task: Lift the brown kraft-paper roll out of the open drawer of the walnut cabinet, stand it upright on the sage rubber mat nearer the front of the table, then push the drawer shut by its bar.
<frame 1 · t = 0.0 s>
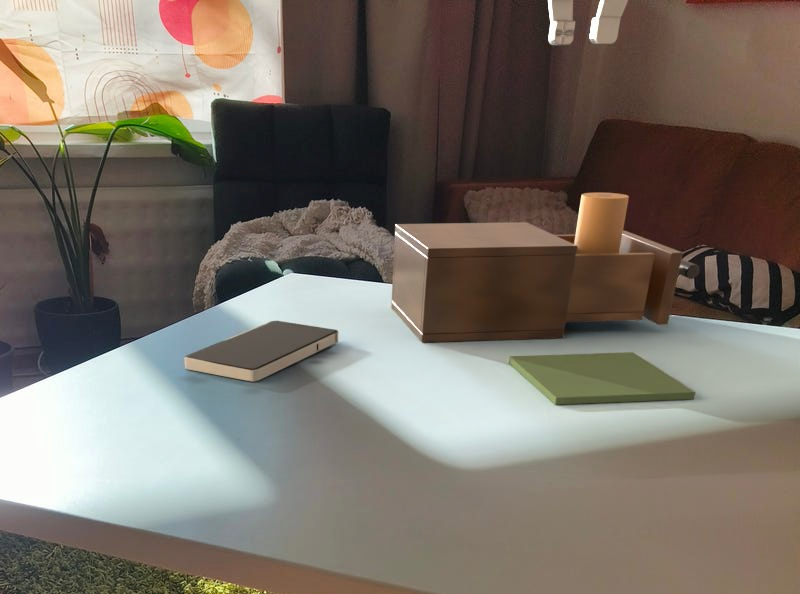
hand: (580, 44, 76), 24 cm above the table, tool pointing down, fingers open, 8 cm apart
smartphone: (265, 357, 84), on the table
mat: (596, 379, 78), on the table
paper roll: (588, 299, 95), point 2 cm above the table, touching drawer
drawer: (604, 276, 94), point 4 cm above the table, slide at 10.0 cm, touching paper roll
cabinet: (472, 322, 94), on the table
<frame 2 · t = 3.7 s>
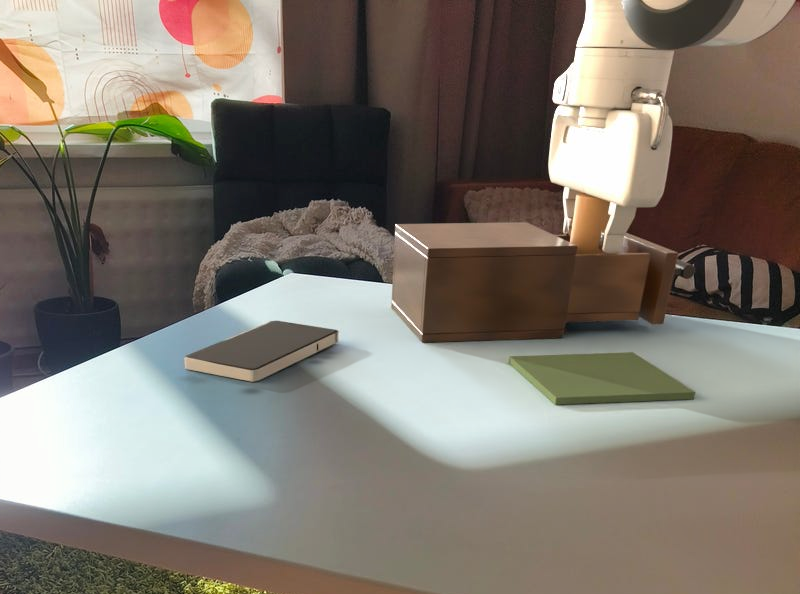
hand: (589, 244, 92), 8 cm above the table, tool pointing down
drawer: (600, 276, 94), point 4 cm above the table, slide at 9.5 cm, touching gripper, paper roll
everything else where it was.
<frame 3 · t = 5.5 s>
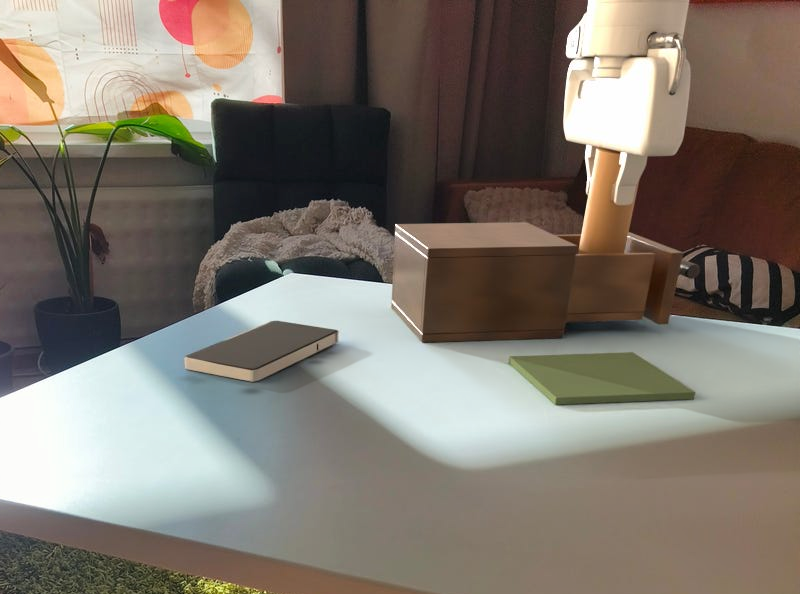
hand: (608, 200, 90), 12 cm above the table, tool pointing down, fingers closed on paper roll, 5 cm apart
paper roll: (600, 257, 93), point 6 cm above the table, tilted 5°, touching gripper
drawer: (604, 276, 94), point 4 cm above the table, slide at 10.0 cm
everything else where it was.
when the fingers open (6 cm above the table, at t = 12.7 s): paper roll stays where it is, resting on mat.
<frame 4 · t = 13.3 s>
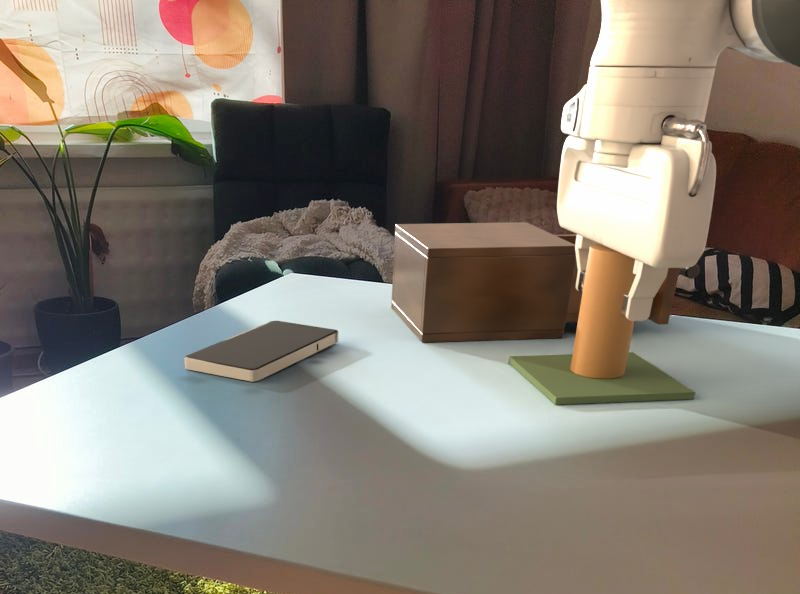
hand: (609, 305, 74), 6 cm above the table, tool pointing down, fingers open, 8 cm apart
paper roll: (597, 371, 78), point 1 cm above the table, touching mat
everything else where it was.
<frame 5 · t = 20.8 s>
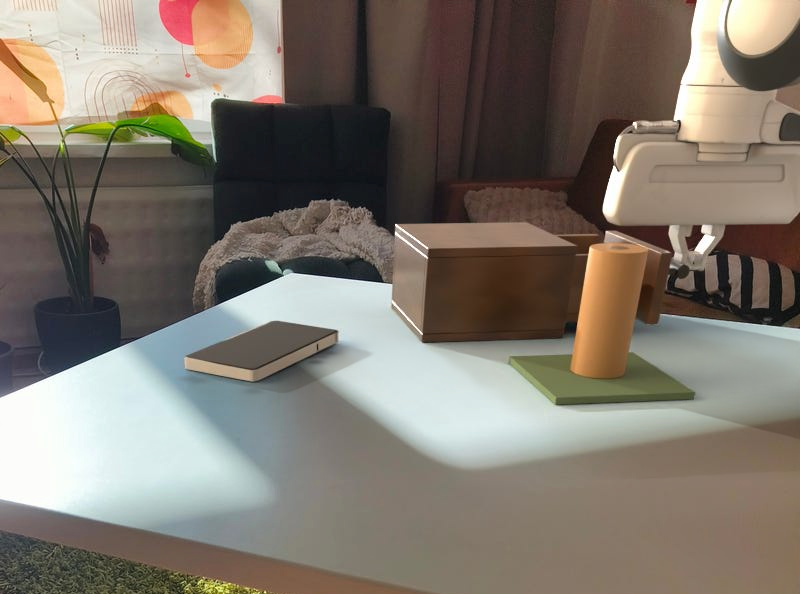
hand: (687, 270, 95), 5 cm above the table, tool pointing down, fingers closed
drawer: (594, 276, 94), point 4 cm above the table, slide at 8.9 cm, touching gripper
everything else where it was.
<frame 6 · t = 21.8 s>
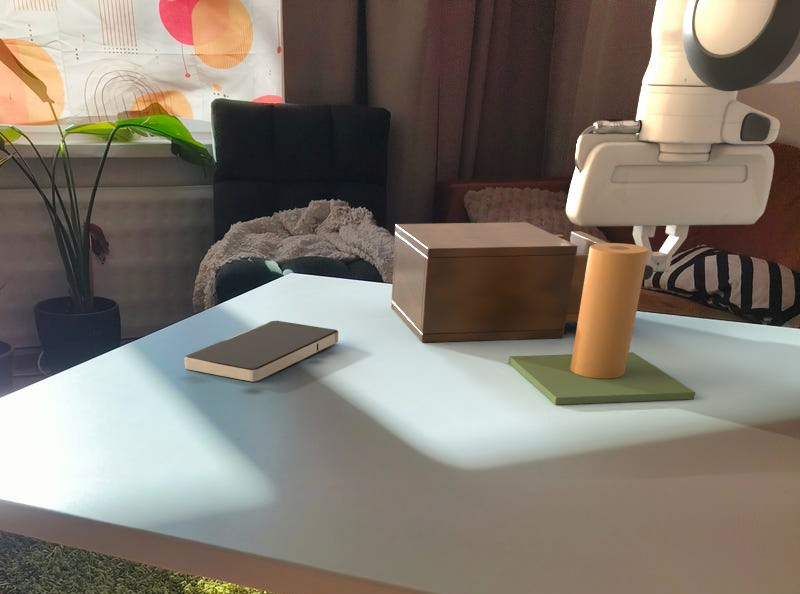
hand: (652, 271, 94), 5 cm above the table, tool pointing down, fingers closed
drawer: (558, 277, 93), point 4 cm above the table, slide at 4.9 cm, touching gripper
everything else where it was.
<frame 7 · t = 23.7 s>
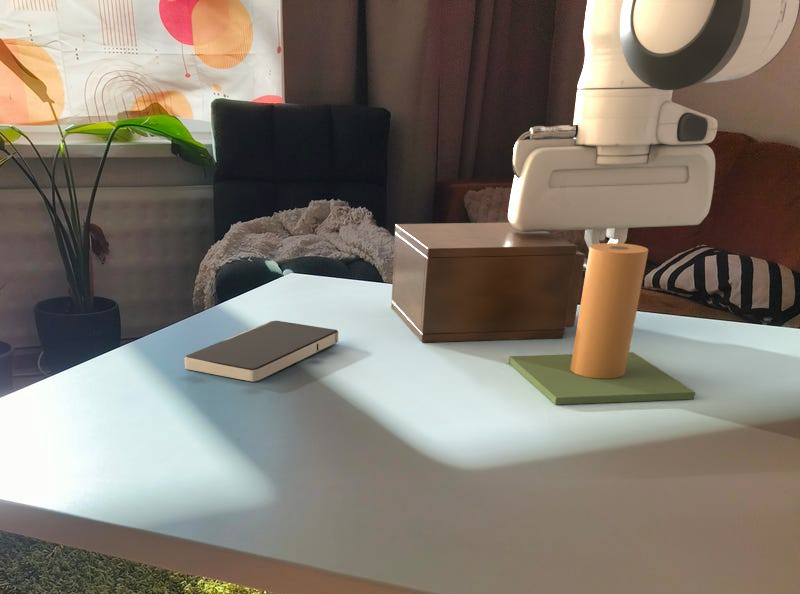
hand: (599, 275, 94), 4 cm above the table, tool pointing down, fingers closed, pressing on drawer
drawer: (513, 278, 93), point 4 cm above the table, slide at 0.0 cm, touching cabinet, gripper
everything else where it was.
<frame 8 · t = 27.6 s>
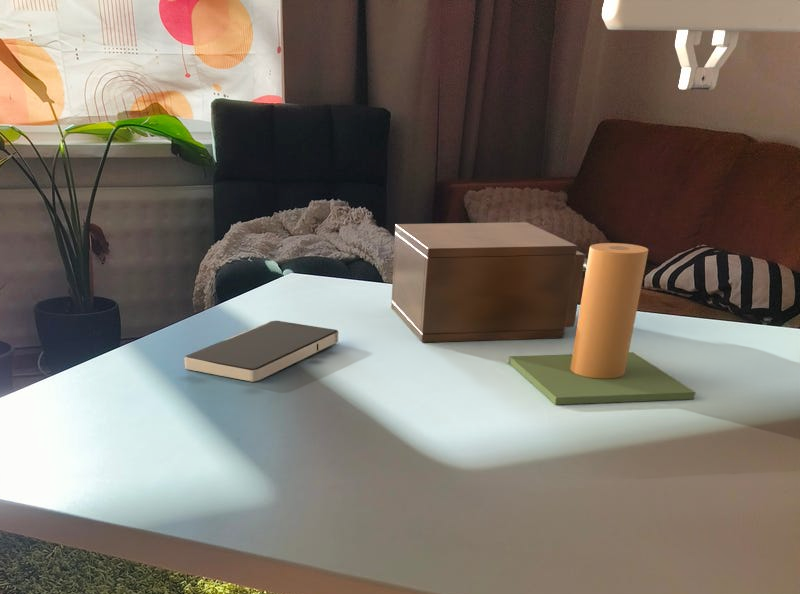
hand: (696, 89, 85), 21 cm above the table, tool pointing down, fingers closed
drawer: (513, 278, 93), point 4 cm above the table, slide at 0.0 cm, touching cabinet
everything else where it was.
at the end: paper roll inside the target area on the mat (0.5 cm from its centre), point 0.6 cm above the mat's base; paper roll tilted 0°; drawer slide at 0.0 cm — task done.
